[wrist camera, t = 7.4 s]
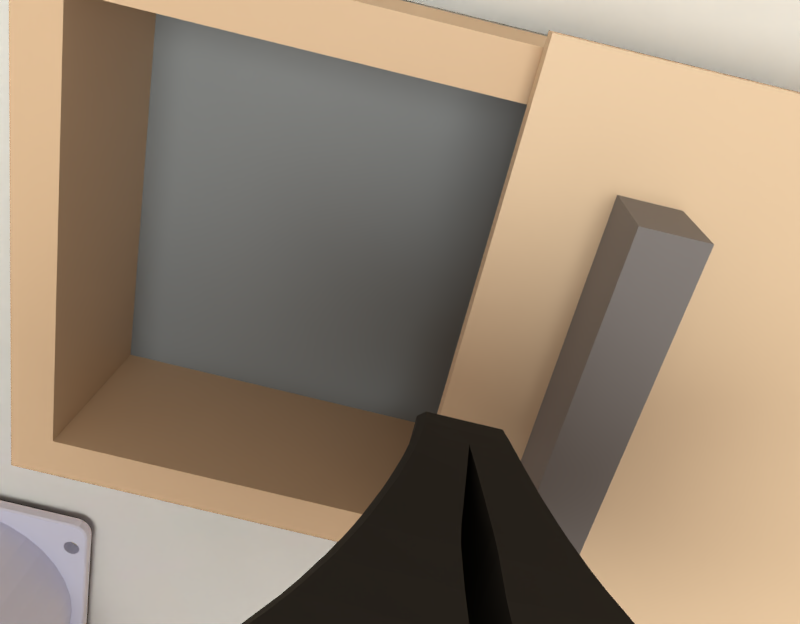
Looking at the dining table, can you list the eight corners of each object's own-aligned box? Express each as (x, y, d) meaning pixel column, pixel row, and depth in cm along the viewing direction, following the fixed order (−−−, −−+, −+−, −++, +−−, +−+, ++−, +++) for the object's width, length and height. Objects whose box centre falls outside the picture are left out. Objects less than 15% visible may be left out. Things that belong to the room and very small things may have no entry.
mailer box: (613, 487, 23) (651, 615, 18) (104, 366, 22) (11, 465, 18) (785, 94, 17) (897, 135, 13) (129, -68, 17) (8, -85, 13)
